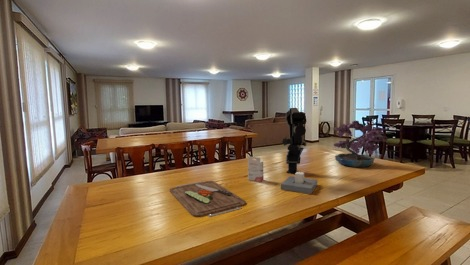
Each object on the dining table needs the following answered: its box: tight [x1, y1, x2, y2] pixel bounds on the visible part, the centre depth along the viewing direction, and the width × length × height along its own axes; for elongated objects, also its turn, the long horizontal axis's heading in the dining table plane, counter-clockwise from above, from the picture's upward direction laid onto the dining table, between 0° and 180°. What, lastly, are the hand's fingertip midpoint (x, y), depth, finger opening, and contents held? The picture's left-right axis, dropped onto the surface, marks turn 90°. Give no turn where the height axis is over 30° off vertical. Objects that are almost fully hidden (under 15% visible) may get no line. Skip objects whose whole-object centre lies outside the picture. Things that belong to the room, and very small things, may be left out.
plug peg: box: [294, 171, 305, 184], centre depth 139 cm, size 4×4×8 cm
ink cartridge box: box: [247, 156, 265, 183], centre depth 153 cm, size 9×5×15 cm, turn 62°
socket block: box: [280, 175, 318, 195], centre depth 140 cm, size 16×16×3 cm
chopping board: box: [168, 180, 247, 218], centre depth 129 cm, size 45×27×3 cm, turn 30°
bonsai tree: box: [333, 120, 388, 168], centre depth 183 cm, size 35×27×33 cm
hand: (297, 160), depth 148 cm, fingers closed
